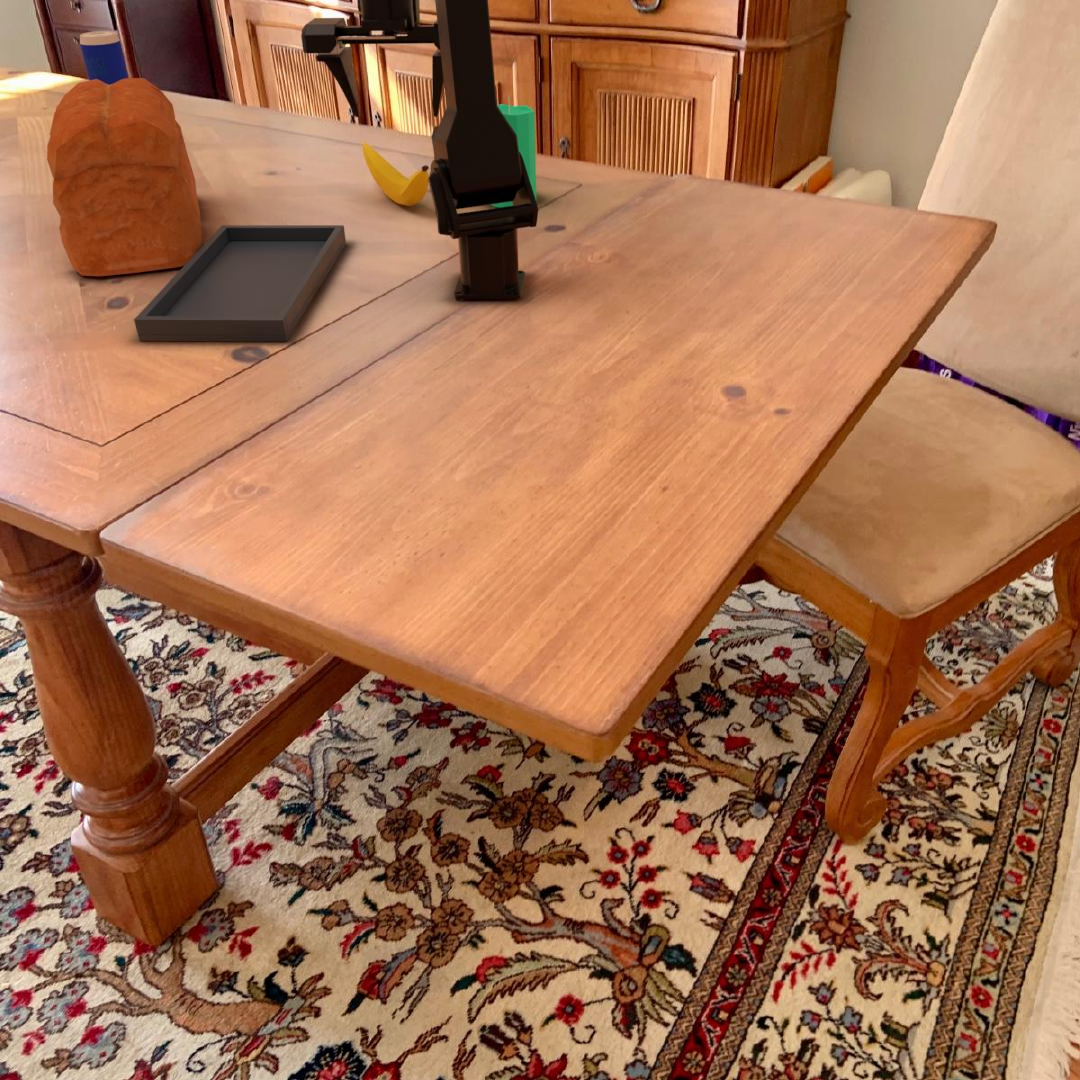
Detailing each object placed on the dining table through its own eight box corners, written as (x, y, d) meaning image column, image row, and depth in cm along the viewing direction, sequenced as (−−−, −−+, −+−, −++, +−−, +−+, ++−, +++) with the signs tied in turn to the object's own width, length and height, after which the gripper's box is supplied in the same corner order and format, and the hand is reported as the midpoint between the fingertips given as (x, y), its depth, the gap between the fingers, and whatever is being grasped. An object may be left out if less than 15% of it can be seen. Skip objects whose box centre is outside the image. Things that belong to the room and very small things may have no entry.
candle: (531, 209, 121) (528, 102, 114) (482, 207, 122) (476, 100, 115) (541, 194, 126) (539, 90, 119) (494, 192, 127) (489, 89, 120)
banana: (379, 180, 132) (373, 128, 128) (442, 220, 119) (438, 163, 115) (358, 183, 131) (351, 132, 127) (419, 224, 118) (414, 168, 114)
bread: (69, 283, 104) (23, 129, 96) (81, 207, 125) (44, 74, 117) (210, 266, 108) (177, 115, 99) (199, 194, 129) (171, 64, 120)
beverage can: (105, 146, 149) (76, 32, 140) (142, 141, 150) (115, 29, 142) (109, 154, 145) (79, 38, 136) (146, 149, 147) (119, 34, 138)
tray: (286, 341, 92) (282, 319, 91) (139, 340, 93) (133, 319, 91) (346, 243, 113) (343, 225, 111) (225, 243, 113) (221, 225, 112)
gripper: (477, -47, 116) (483, 99, 125) (315, -44, 117) (333, 100, 126) (465, -34, 107) (473, 122, 116) (290, -32, 108) (312, 123, 117)
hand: (397, 116), depth 119 cm, fingers open, 9 cm apart
